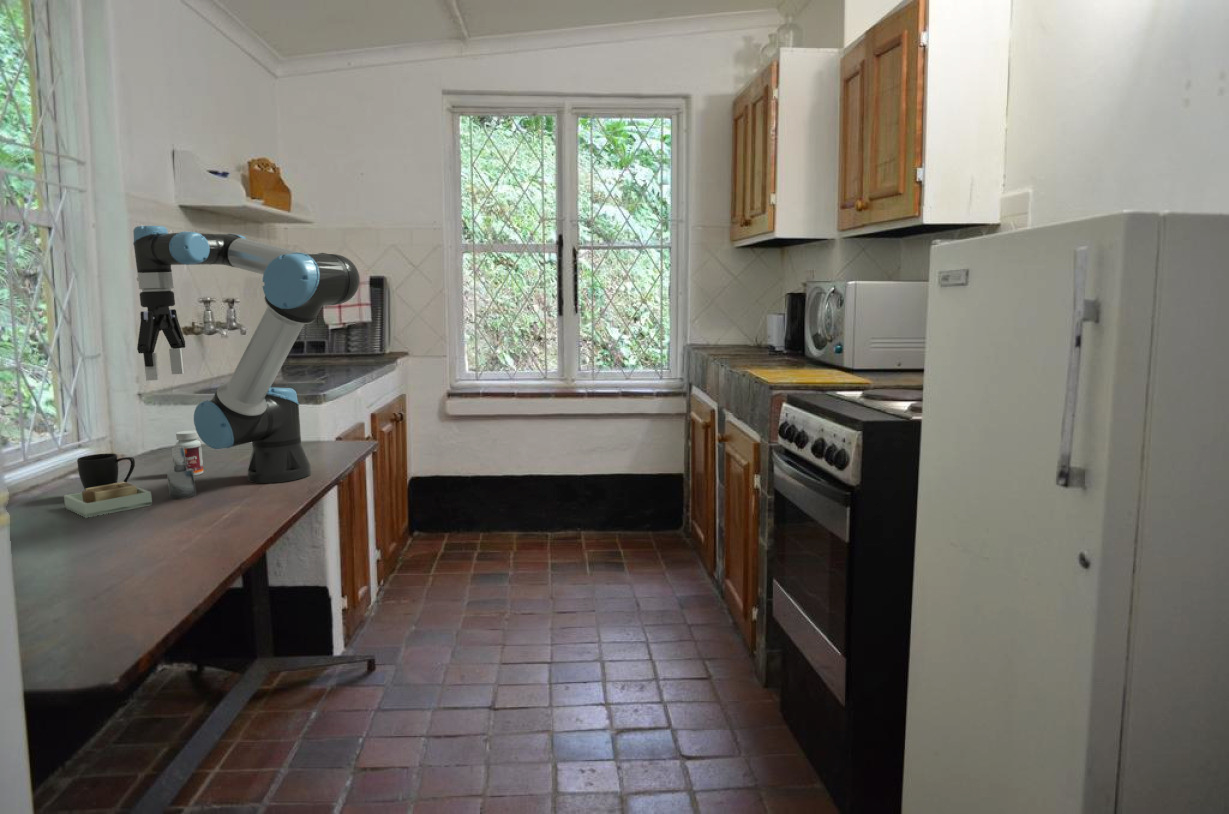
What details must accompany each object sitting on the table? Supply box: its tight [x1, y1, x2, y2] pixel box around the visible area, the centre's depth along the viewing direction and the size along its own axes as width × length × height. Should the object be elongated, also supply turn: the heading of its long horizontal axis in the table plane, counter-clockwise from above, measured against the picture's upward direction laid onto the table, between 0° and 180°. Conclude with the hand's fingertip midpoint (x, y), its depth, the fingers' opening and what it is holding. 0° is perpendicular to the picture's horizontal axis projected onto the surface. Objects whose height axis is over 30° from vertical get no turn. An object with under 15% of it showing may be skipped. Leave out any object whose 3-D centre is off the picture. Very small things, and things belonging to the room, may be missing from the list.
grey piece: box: [166, 447, 197, 500], centre depth 207 cm, size 6×6×12 cm
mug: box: [76, 453, 136, 491], centre depth 210 cm, size 8×12×10 cm
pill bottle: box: [174, 429, 204, 477], centre depth 231 cm, size 6×6×11 cm
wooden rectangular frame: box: [81, 481, 138, 503], centre depth 199 cm, size 10×8×4 cm
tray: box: [63, 486, 153, 519], centre depth 199 cm, size 14×14×3 cm
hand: (165, 377), depth 219 cm, fingers open, 13 cm apart
